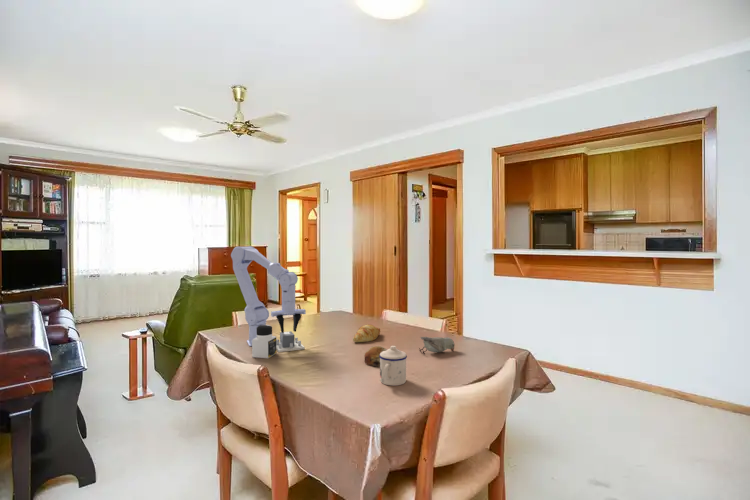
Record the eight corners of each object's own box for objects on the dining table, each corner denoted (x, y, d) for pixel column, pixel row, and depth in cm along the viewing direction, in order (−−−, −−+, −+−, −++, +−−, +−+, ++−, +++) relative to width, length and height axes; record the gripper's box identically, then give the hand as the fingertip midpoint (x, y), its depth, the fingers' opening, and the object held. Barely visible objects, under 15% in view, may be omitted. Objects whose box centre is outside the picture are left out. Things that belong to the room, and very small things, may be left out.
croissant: (359, 352, 175) (366, 338, 172) (342, 339, 179) (349, 325, 177) (383, 341, 193) (389, 327, 190) (368, 329, 197) (374, 316, 195)
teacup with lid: (385, 374, 136) (385, 341, 136) (410, 378, 133) (410, 344, 132) (371, 387, 125) (371, 350, 125) (398, 391, 121) (398, 354, 121)
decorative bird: (457, 352, 163) (457, 334, 163) (423, 357, 157) (423, 338, 157) (450, 349, 168) (450, 332, 168) (417, 353, 162) (417, 335, 162)
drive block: (279, 343, 172) (279, 332, 172) (291, 342, 174) (291, 331, 174) (282, 347, 166) (282, 335, 166) (294, 346, 168) (294, 334, 168)
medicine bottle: (268, 358, 154) (268, 328, 153) (251, 357, 155) (251, 327, 155) (276, 353, 161) (276, 324, 160) (260, 352, 162) (260, 323, 162)
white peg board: (273, 344, 173) (273, 338, 173) (297, 342, 178) (297, 336, 178) (278, 352, 162) (278, 345, 162) (304, 349, 167) (304, 342, 167)
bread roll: (391, 370, 151) (394, 349, 154) (384, 366, 142) (387, 344, 145) (367, 367, 155) (370, 347, 158) (359, 363, 146) (362, 342, 149)
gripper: (273, 303, 163) (273, 335, 163) (307, 300, 169) (307, 332, 169) (270, 300, 169) (270, 331, 170) (303, 298, 175) (303, 328, 176)
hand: (288, 331), depth 170 cm, fingers open, 5 cm apart
